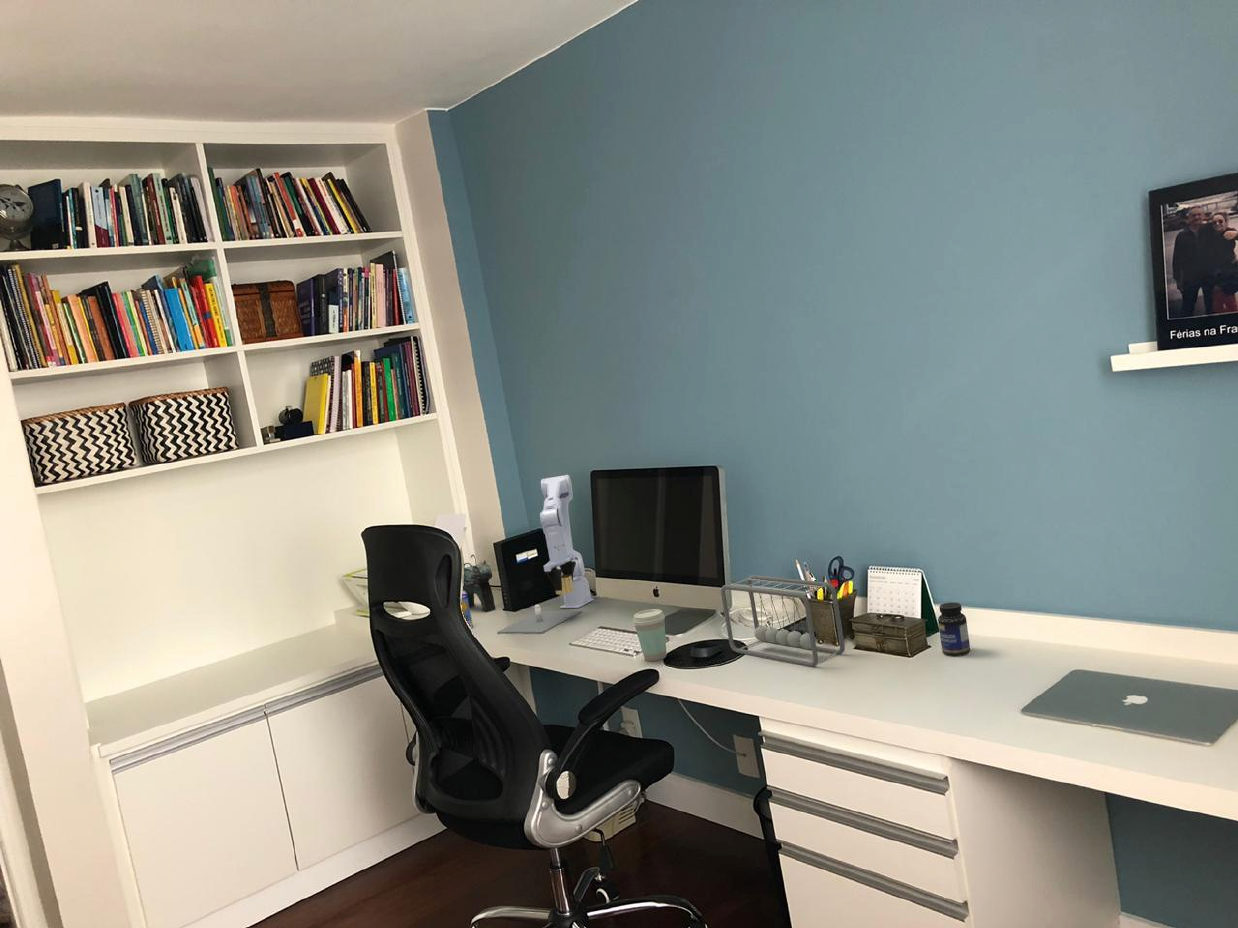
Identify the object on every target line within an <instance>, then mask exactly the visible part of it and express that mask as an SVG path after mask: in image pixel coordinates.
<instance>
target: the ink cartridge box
mask: <svg viewBox="0 0 1238 928" xmlns="http://www.w3.org/2000/svg"><path fill="white" fill-rule="evenodd" d="M461 605H462V612H463V615H464V618H465V619H466V621H467V623H468V624H469V626H470V627H471V629H474V624H473V620H472V614H471V610H470V609H471V607H470V608H469V602H468V596H467V593H466V591H463V592H462V602H461Z"/></svg>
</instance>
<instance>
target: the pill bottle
mask: <svg viewBox="0 0 1238 928" xmlns="http://www.w3.org/2000/svg"><path fill="white" fill-rule="evenodd" d="M962 610H963V608H962V604H961V603H960V602H954V601H953V602H945V603H942V604H940V605H939V612H940V613H941V614H940V615H938V618H937V622H938V623H937V624H938V631H939V638H940V644H941V652H942V654H943V655H944V656H949V657H960V656H964V655H967V654H969V653H970V652H971V645H970V636H969V628H968V623H967V622H968V621H967V616H966V614H964V613H962Z"/></svg>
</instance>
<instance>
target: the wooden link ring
mask: <svg viewBox="0 0 1238 928" xmlns="http://www.w3.org/2000/svg"><path fill="white" fill-rule="evenodd" d="M561 582H562V590H561V591H556V590H555V594H556V595H563V594H567V593H571V592H573V591H574V587H573V582H572V577H571V575H570V574H565V575H561Z"/></svg>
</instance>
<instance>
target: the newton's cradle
mask: <svg viewBox="0 0 1238 928" xmlns="http://www.w3.org/2000/svg"><path fill="white" fill-rule="evenodd" d="M753 581H755V582H754V583H753ZM743 582H746V583H747V585H741V583H743ZM762 582H764V583H766V584H763V585H762ZM757 583H760V585H759V586H753V585H754V584H757ZM773 583H774V584H777V585H774V586H773ZM769 584H770V587H769V588H768V587H767V588H766V587H763V586H766V585H769ZM780 585H781V589H777V588H775V587H776V586H780ZM783 585H788V586H786V587H784V586H783ZM792 586H793V590H785V589H786V588H789V587H792ZM795 586H801V587H799V588H795ZM803 587H804V591H796V590H799V589H801V588H803ZM806 587H810V588H814V589H811V590H808V591H807V590H806V589H807V588H806ZM823 588H828V589H829V590H830V592H831V597H832V604H833V605H832V606H833V610H834V611H833V613H834V617H835V618H834V619H835V623H836V630H837V637H838V642H839V649H835V648H831V647H830V648H829V647H824V646H823V647H822V646H817V643H816V636H815V631H814V623H813V619H812V618H813V617H812V612H811V606H810V601H809V599H808V597H807V594H810V593H813V592H815V591H817V590H820V589H823ZM726 590H730V591H738V592H745V593H748V595H749V596H748V597H749V603H750V607H751V613H752V614H751V615H752V620H753V625H754V637H755V638H756V640H757V641H755V642H752V643H750V644H748V645H745V646H742V647H740V648H739V647H737V646H736V645H735V642H734V638H733V637H734V636H733V631H732V624H731V618H730V614H729V613H730V612H729V607H728V599H727V595H726V594H727V593H726ZM754 593H756V594H759V598H760V602H761V603H760V617H761V618H760V619H761V620H760V622H761V623H760V622H759V618H758V613H757V608H756V606H757V605H756V602H755V601H756V600H755V595H754ZM763 594H765V595H769V596H770V600H771V604H772V607H773V609H774V612H775V615H776V619H777V621H778V625H779V628H780V630H779V629H777V628H776V627H774V626H773V625H774V623H773V620H774V619H773V616H771V625H770V623H769V618H768V616H767V611H766V609H765V606H764V603H763V600H762V595H763ZM720 596H721V602H722V608H723V612H724V613H723V614H724V618H725V619H724V620H725V626H726V632H727V637H728V643H729V646H730V649H731V650H732V651H733V652H735V653H737V654H743V655H746V656H753V657H758V658H763V659H768V660H772V661H773V660H774V661H779V662H784V663H789V664H793V665H800V666H805V667H809V668H811V667H812V668H814V667H815V666H817V665H818V663H819V662H822V661H824V660H825V659H828V658H830V657H833V656H835V655H838V656H839V655H842V654H844V652H845V649H846V646H845V640H844V638H845V637H844V634H843V626H842V620H841V613H840V609H839V607H840V606H839V600H838V595H837V590H836V587H835V586H834V585H833V584H832V583H830V582H826V581H825V582H824V581H816V580H806V579H798V578H797V579H795V578H788V577H787V578H786V577H785V578H784V577H775V576H766V575H757V574H756V575H755V574H752V575H749V576H748V578H745V579H743V580H740V581H738V582H737V581H736V582H734V583H731V584H724V585H722V587H721V589H720ZM773 596H777V597H778V596H779V597H781V600H782V605H783V608H784V609H785V613H786V616H787V619H788V623H789V625H790V628H791V632H790V631H789V630H787V629H785V624H784V623H785V621H784V617H782V626H781V624H780V623H781V622H780V620H779V616H778V614H777V611H776V608H775V604H774V601H773ZM784 597H787V598H792V600H793V604H794V606H793V625H794V626H793V627H794V628H792V623H791V620H790V618H789V615H788V614H789V613H788V611H787V608H786V605H785V602H784ZM795 598H796V599H797V598H798V599H801V601H803V603H804V608H805V609H804V610H805V611H804V612H805V615H806V616H805V619H806V621H805V622H806V624H807V627H806V631H805V627H804V625H803V622H802V618H801V616H800V613H799V610H798V607H797V606H798V605H797V604H796V601H795ZM762 608H763V610H764V614H765V616H766V617H765V618H766V621H767V623H768V625H769V628H767V626H764V625H763V619H762V618H763V611H762ZM795 608H796V609H795ZM795 610H796V611H797V614H798V618H799V620H800V623H801V626H802V628H803V634H801V632H799V631H796V619H795V618H796V617H795V612H796V611H795ZM793 629H794V630H793ZM761 642H764V643H770V644H775V645H780V646H781V645H782V646H786V647H792V648H796V649H797V648H798V649H803V650H810V651H811V654H812V661H807V660H802V659H796V658H793V657H786V656H780V655H777V654H776V655H775V654H770V653H764V652H759V651H754V650H750V649H745V648H749V647H751V646H753V645H756V644H759V643H761ZM818 652H821V653H826V654H827V653H828V654H829V655H826V656H824V657H822V658H819V656H818Z"/></svg>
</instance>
